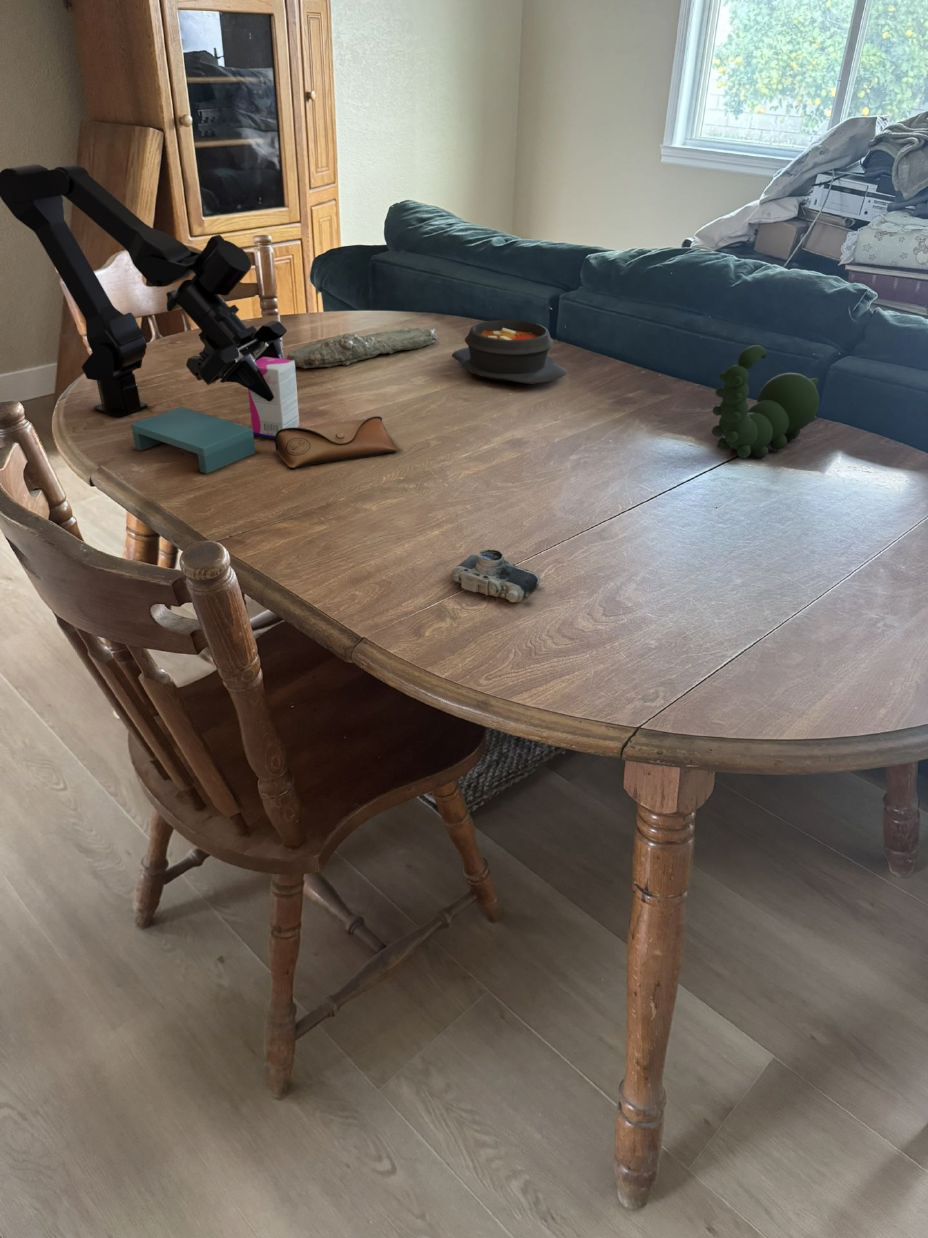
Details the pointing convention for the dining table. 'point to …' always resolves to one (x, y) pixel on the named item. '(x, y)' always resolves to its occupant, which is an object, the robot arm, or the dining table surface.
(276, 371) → the supplement box
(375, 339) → the elongated rock
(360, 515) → the dining table surface
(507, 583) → the camera
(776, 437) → the toy figurine
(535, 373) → the casserole
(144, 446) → the shelf
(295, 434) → the sunglasses case
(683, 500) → the dining table surface
